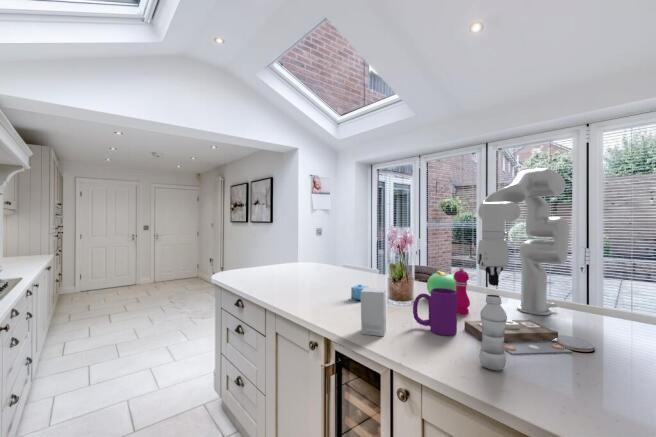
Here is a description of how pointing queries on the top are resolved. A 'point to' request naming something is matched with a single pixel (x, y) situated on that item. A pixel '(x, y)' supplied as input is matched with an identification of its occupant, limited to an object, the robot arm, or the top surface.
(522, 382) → the top surface
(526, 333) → the button board
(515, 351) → the pattern card
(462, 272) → the pepper mill
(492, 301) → the plastic bottle
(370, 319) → the skincare box
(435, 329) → the mug
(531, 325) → the button
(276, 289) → the top surface
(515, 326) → the middle button
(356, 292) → the teapot
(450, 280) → the toy bird
